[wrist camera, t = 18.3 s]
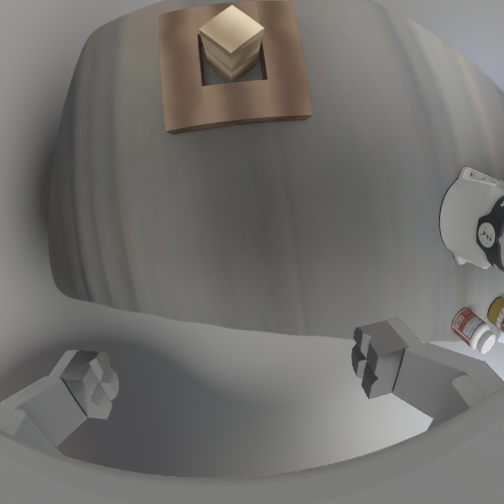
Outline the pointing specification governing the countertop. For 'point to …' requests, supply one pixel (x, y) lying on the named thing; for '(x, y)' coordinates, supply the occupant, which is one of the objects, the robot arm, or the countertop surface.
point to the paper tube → (497, 313)
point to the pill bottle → (473, 331)
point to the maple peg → (231, 43)
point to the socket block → (236, 93)
